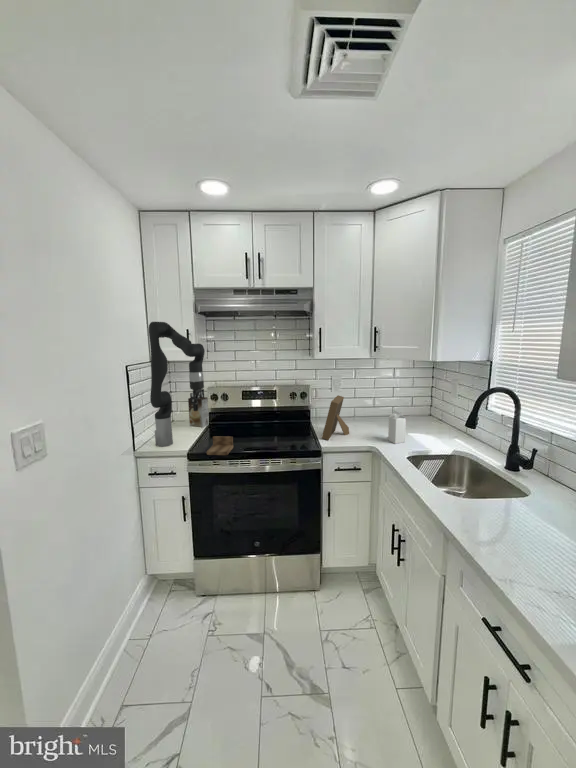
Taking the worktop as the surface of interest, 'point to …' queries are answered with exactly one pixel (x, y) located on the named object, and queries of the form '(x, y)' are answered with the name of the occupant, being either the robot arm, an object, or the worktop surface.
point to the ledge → (221, 445)
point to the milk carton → (397, 427)
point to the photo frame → (334, 419)
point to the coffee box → (199, 413)
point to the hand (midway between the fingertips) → (198, 409)
